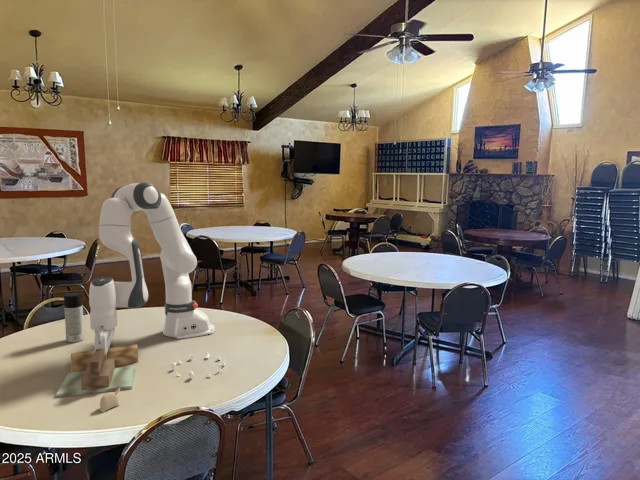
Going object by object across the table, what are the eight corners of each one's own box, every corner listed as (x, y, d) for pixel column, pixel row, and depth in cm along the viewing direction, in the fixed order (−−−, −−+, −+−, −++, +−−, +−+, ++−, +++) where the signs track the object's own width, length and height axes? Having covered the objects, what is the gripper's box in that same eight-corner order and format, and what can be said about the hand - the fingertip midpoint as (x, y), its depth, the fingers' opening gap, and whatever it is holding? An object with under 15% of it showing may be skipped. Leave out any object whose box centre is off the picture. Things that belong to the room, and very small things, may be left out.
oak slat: (137, 359, 169) (137, 344, 168) (138, 362, 166) (137, 347, 165) (71, 369, 159) (71, 353, 158) (71, 372, 156) (70, 356, 155)
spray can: (87, 337, 188) (85, 292, 186) (77, 343, 182) (75, 296, 179) (73, 336, 189) (70, 291, 186) (62, 342, 182) (59, 295, 180)
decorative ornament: (96, 409, 132) (95, 395, 131) (118, 400, 137) (118, 386, 137) (102, 413, 130) (101, 398, 129) (124, 403, 135) (124, 390, 135)
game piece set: (207, 385, 149) (207, 374, 149) (159, 374, 156) (159, 364, 156) (237, 363, 167) (237, 353, 167) (193, 354, 174) (192, 345, 174)
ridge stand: (136, 368, 160) (135, 342, 158) (132, 388, 145) (131, 359, 143) (68, 375, 153) (66, 348, 152) (56, 397, 138) (54, 367, 137)
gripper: (109, 331, 151) (110, 369, 153) (116, 313, 170) (118, 347, 172) (88, 332, 149) (90, 371, 151) (99, 314, 168) (100, 348, 170)
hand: (105, 358), depth 162 cm, fingers open, 5 cm apart
